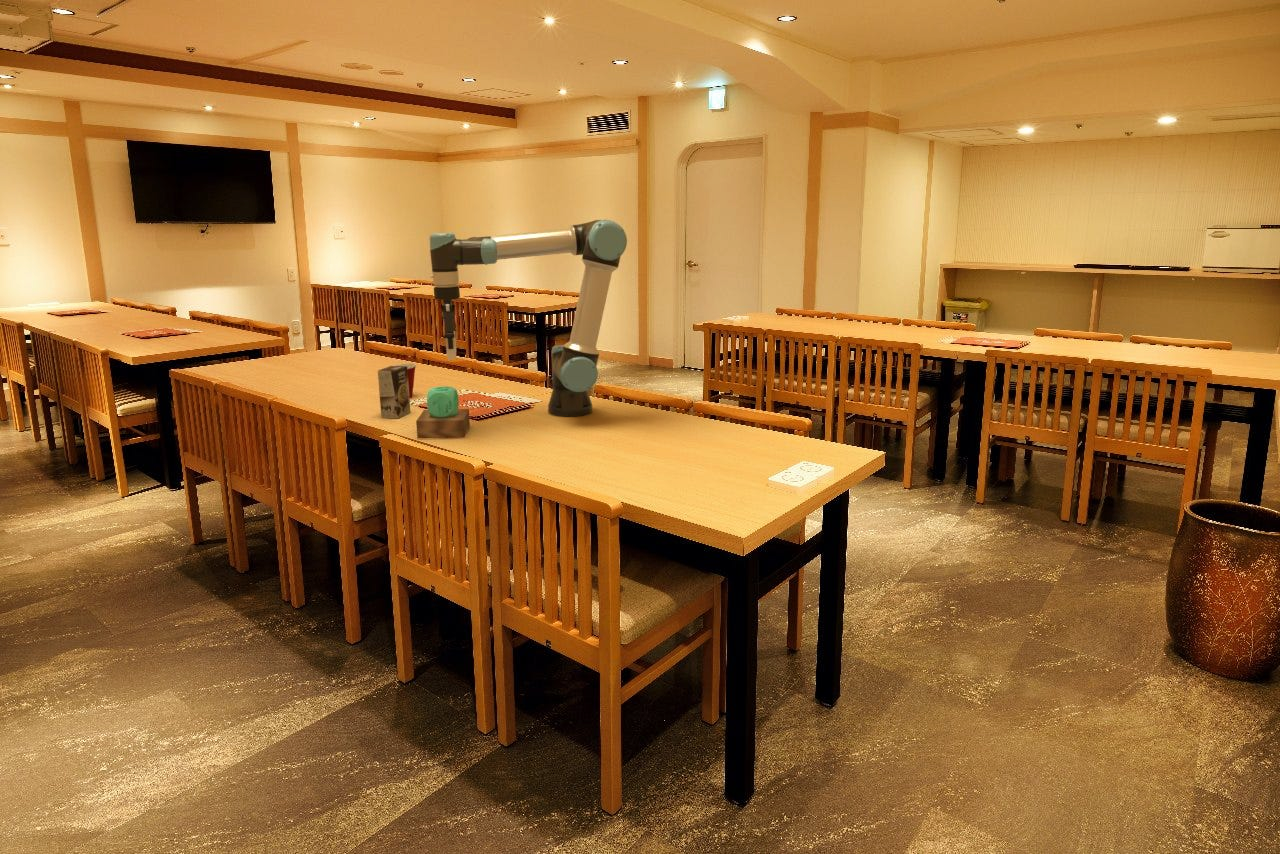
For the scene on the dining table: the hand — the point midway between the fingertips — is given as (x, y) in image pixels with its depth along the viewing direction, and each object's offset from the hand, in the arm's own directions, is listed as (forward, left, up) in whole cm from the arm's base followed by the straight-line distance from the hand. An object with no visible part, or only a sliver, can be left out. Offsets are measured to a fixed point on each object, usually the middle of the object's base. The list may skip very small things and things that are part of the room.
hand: (452, 355), depth 243 cm
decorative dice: (+3, +3, -18) cm, 18 cm away
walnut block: (+4, +3, -24) cm, 24 cm away
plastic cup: (+20, -49, -24) cm, 58 cm away
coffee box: (+20, -22, -24) cm, 38 cm away
